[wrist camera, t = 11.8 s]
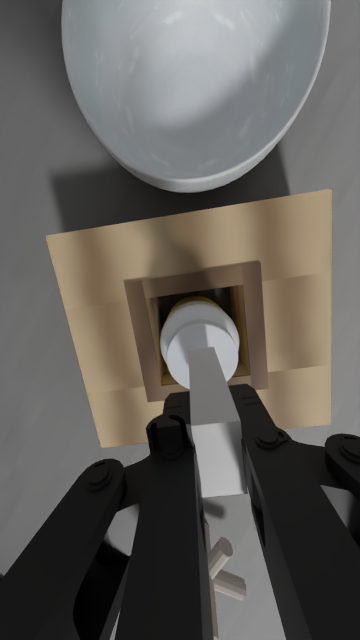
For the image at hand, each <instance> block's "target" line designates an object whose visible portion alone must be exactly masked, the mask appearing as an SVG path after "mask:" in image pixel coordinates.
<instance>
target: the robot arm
mask: <svg viewBox="0 0 360 640" xmlns="http://www.w3.org/2000/svg"><path fill="white" fill-rule="evenodd" d="M189 382H190V391H185V392H176V393H170V394H169V395H168V396H167V398H166V399H165V401H164V407H163V413H162V414H161V415H159V416H157V417H155V418H153V419H152V420H151V421H150V422H149V423H148V425H147V427H146V433H147V438H148V443H149V448H150V455H149V456H148V457H146V458H145V459H143V460H141V461H139V462H137V463H135V464H132V465H129V466H127V467H123V465H122V464H121V463H120V461H118V460H115V459H104V460H101V461H98V462H96V463H94V464H92V465H91V466H89V467H88V468H87V469H86V470H85V471H84V472H83V473H82V474H81V475H80V476H79V477H78V479H77V480H76V481H75V483H74V484H73V485H72V487H71V488H70V489H69V491H68V492H67V493H66V495H65V496H64V497H63V499H62V500H61V501H60V503H59V504H58V505H57V507H56V508H55V509H54V511H53V512H52V513H51V515H50V516H49V517H48V519H47V520H46V521H45V523H44V524H43V525H42V527H41V528H40V529H39V530H38V532H37V533H36V534H35V536H34V537H33V538H32V540H31V541H30V542H29V544H28V545H27V546H26V548H25V549H24V550H23V552H22V553H21V554H20V556H19V557H18V558H17V560H16V561H15V562H14V564H13V565H12V566H11V568H10V569H9V570H8V572H7V573H6V574H5V576H4V577H3V578H2V580H0V640H109V639H110V636H111V634H112V631H113V628H114V625H115V622H116V619H117V616H118V614H119V611H120V614H119V619H118V625H117V630H116V635H115V640H214V636H213V623H212V610H211V597H210V583H209V570H208V557H207V544H206V531H205V518H204V511H203V504H202V497H212V496H224V495H235V494H246V493H248V492H247V487H248V490H249V494H250V498H251V507H252V518H253V528H254V531H257V533H258V536H259V540H260V544H261V547H262V551H263V555H264V559H265V562H266V566H267V570H268V573H269V577H270V581H271V585H272V588H273V592H274V596H275V600H276V603H277V607H278V611H279V614H280V618H281V622H282V626H283V629H284V633H285V637H286V640H360V437H358V436H355V435H350V434H335V435H332V436H330V437H329V438H327V440H326V443H325V447H322V446H315V445H308V444H303V443H299V442H296V441H294V440H292V439H291V437H290V436H289V435H288V434H287V433H286V432H285V431H283V430H282V429H280V428H278V427H276V425H275V423H274V422H273V420H272V418H271V416H270V415H269V413H268V411H267V409H266V408H265V406H264V404H263V403H262V401H261V399H260V397H259V395H258V394H257V392H256V390H255V389H254V388H253V387H251V386H250V385H248V384H247V383H246V384H237V385H229V386H228V385H227V382H226V379H225V376H224V373H223V371H222V368H221V365H220V362H219V360H218V357H217V354H216V351H215V348H214V347H206V348H198V349H190V350H189ZM120 608H121V609H120Z"/></svg>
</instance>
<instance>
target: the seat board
mask: <svg viewBox="0 0 360 640" xmlns="http://www.w3.org/2000/svg"><path fill="white" fill-rule="evenodd" d="M46 239H47V243H48V247H49V250H50V254H51V258H52V262H53V266H54V269H55V273H56V277H57V281H58V285H59V288H60V292H61V296H62V300H63V304H64V307H65V311H66V315H67V319H68V323H69V326H70V330H71V334H72V338H73V342H74V345H75V349H76V353H77V357H78V361H79V364H80V368H81V372H82V376H83V379H84V383H85V387H86V391H87V395H88V398H89V402H90V406H91V410H92V414H93V417H94V421H95V425H96V429H97V433H98V436H99V440H100V444H101V448H104V447H114V446H124V445H133V444H143V443H148V438H147V433H146V427H147V425H148V423H149V422H150V421H151V420H152V419H153V418H155V417H157V416H159V415H161V414H162V413H163V407H164V401H165V399H166V398H167V396H168V395H169V394H170V393H176V392H185V391H190V389H188V388H186V387H184V386H182V385H180V384H179V383H178V382H177V381H176V380H175V379H174V378H173V377H172V375H171V373H170V371H169V369H168V366H167V364H166V362H165V360H164V358H163V356H162V353H161V348H160V337H161V333H162V326H161V321H160V315H159V309H158V303H157V297H159V296H166V295H173V294H180V293H187V292H194V291H201V290H208V289H215V288H222V287H229V288H230V298H231V309H232V319H233V323H234V324H235V326H236V329H237V332H238V335H239V350H238V364H237V368H236V370H235V372H234V374H233V375H232V377H231V378H230V379H229V380H228V381H227V385H228V386H229V385H237V384H246V383H247V384H248V385H250V386H251V387H253V388H254V389H255V390H256V392H257V394H258V395H259V397H260V399H261V401H262V403H263V404H264V406H265V408H266V409H267V411H268V413H269V415H270V416H271V418H272V420H273V422H274V423H275V425H276V427H278V428H280V429H289V428H299V427H309V426H318V425H328V424H331V249H332V189H327V190H321V191H315V192H308V193H302V194H296V195H290V196H284V197H278V198H272V199H266V200H260V201H254V202H248V203H242V204H236V205H230V206H223V207H217V208H211V209H205V210H199V211H193V212H187V213H181V214H175V215H169V216H163V217H157V218H151V219H145V220H139V221H132V222H126V223H120V224H114V225H108V226H102V227H96V228H90V229H84V230H78V231H72V232H66V233H60V234H54V235H47V236H46Z"/></svg>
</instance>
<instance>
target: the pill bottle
mask: <svg viewBox="0 0 360 640" xmlns="http://www.w3.org/2000/svg"><path fill="white" fill-rule="evenodd" d="M206 347H214V348H215V351H216V354H217V357H218V360H219V362H220V365H221V368H222V371H223V373H224V376H225V379H226V382H227V381H228V380H229V379H230V378H231V377H232V375H233V374H234V372H235V370H236V368H237V364H238V350H239V335H238V332H237V329H236V326H235V324H234V323H233V321H232V320H231V318H230V317H229V316H228V315H227V314H226V313H225V312H224V311H223V310H222V309H221V308H220V307H219V306H218V305H217V304H216V303H215V302H214V301H212V300H211V299H209V298H207V297H204V296H199V295H192V296H187V297H185V298H183V299H181V300H179V301H178V302H177V303H176V304H175V305H174V306H173V307H172V309H171V311H170V312H169V315H168V317H167V319H166V322H165V324H164V326H163V329H162V333H161V337H160V348H161V353H162V356H163V358H164V360H165V362H166V364H167V366H168V369H169V371H170V373H171V375H172V377H173V378H174V379H175V380H176V381H177V382H178V383H179V384H180V385H182V386H184V387H186V388H188V389H190V382H189V350H190V349H198V348H206Z"/></svg>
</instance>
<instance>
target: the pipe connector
mask: <svg viewBox="0 0 360 640" xmlns="http://www.w3.org/2000/svg"><path fill="white" fill-rule="evenodd" d="M205 531H206V544H207V557H208V570H209V583H210V597H211V610H212V623H213V636H214V640H219V638H218V626H217V615H216V603H215V591H214V590H216V591H218V592H221V593H223V594H226V595H228V596H231V597H233V598H236V599H238V600H241V601H242V600H244V598H245V596H246V584H245V581H244V579H243V578H241V577H238V576H236V575H233V574H231V573H228V572H226V571H224V570H221V568H222V567H223V566H224V564H225V563H226V562H227V561H228V559H229V558H230V557H231V555H232V554H233V549H232V546H231V544H230V542H229V541H228V540H227V539H226V538H225V537H221V538H220V539H219V541H218V542H217V543H216V545H215V546H214V547H213V549H212V550H211V545H210V533H209V525H208V524H207V523H205Z"/></svg>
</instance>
